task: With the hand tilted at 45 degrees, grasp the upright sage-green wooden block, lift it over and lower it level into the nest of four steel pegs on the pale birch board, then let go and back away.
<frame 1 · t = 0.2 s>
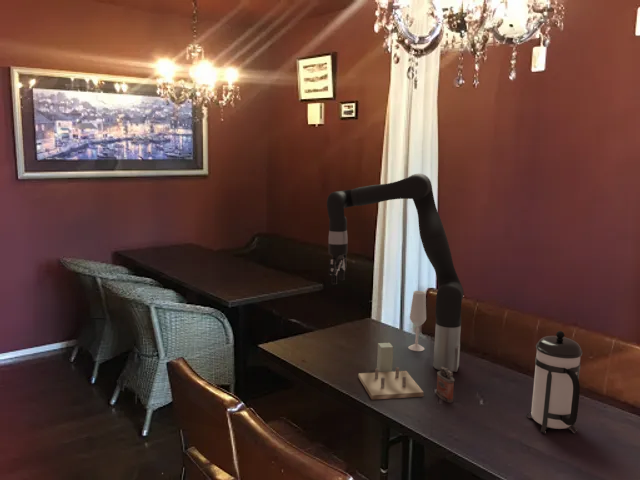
hand: (337, 282, 224), 29 cm above the table, tool pointing down, fingers open, 8 cm apart
coffee press: (554, 427, 171), on the table
peg board: (389, 386, 197), on the table
lighter: (444, 397, 190), on the table
sage block: (384, 370, 211), on the table
champagne flute: (416, 348, 234), on the table
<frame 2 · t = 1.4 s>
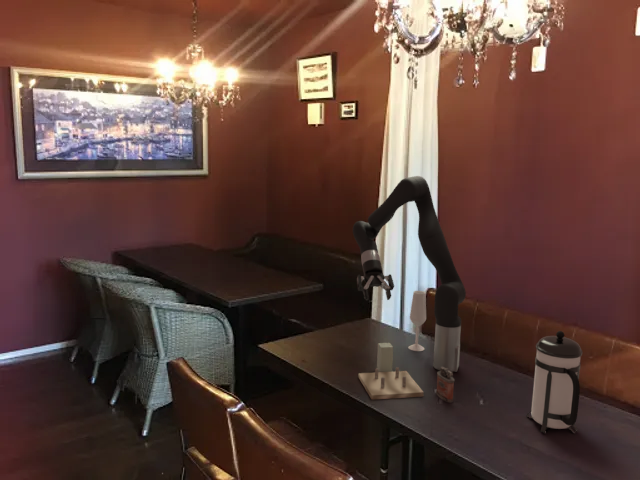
hand: (378, 299, 218), 24 cm above the table, tool tilted 45°, fingers open, 8 cm apart
nothing on the table moved.
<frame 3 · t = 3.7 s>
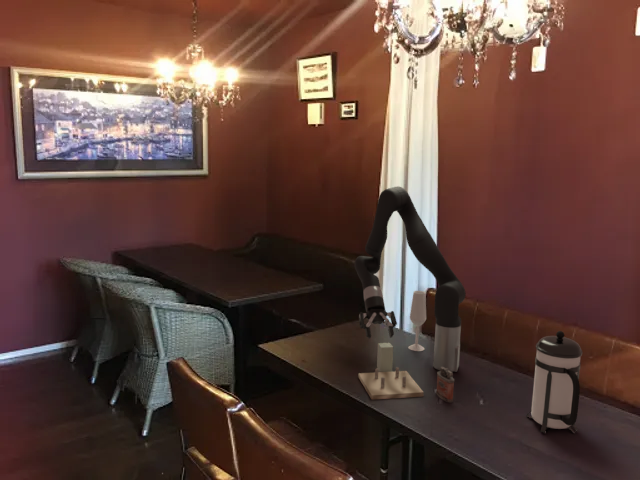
hand: (380, 337, 215), 11 cm above the table, tool tilted 45°, fingers open, 8 cm apart
nothing on the table moved.
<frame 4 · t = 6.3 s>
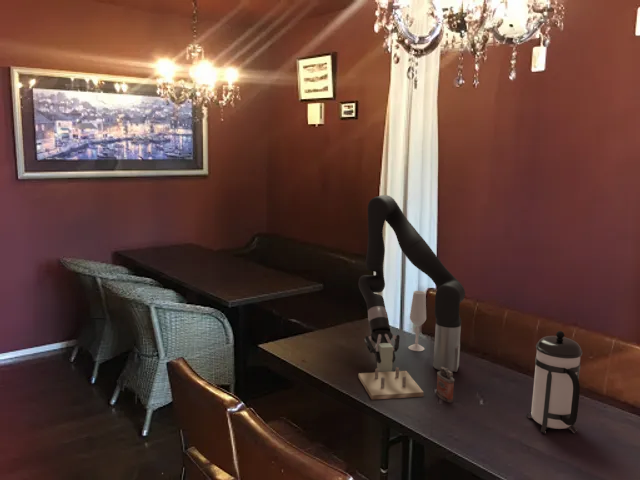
hand: (386, 361, 208), 4 cm above the table, tool tilted 45°, fingers closed on sage block, 4 cm apart
sage block: (384, 370, 211), on the table, touching gripper
everything else where it was.
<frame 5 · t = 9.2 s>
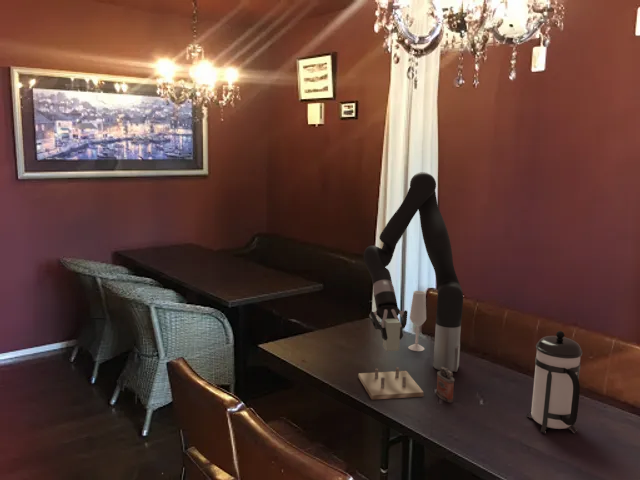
hand: (393, 338, 192), 18 cm above the table, tool tilted 45°, fingers closed on sage block, 4 cm apart
sage block: (390, 348, 195), point 14 cm above the table, touching gripper
everything else where it was.
when the fingers open (7 cm above the table, at t = 12.3 s): sage block drops 1 cm, resting on peg board.
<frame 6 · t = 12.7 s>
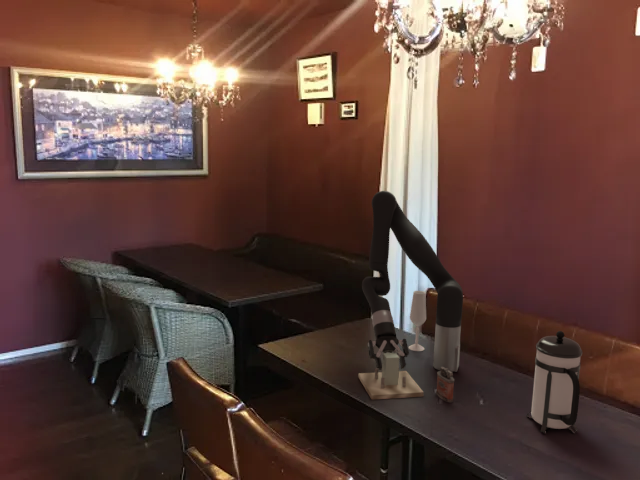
hand: (391, 368, 194), 7 cm above the table, tool tilted 45°, fingers open, 7 cm apart
sage block: (389, 382, 197), point 1 cm above the table, touching peg board
everything else where it was.
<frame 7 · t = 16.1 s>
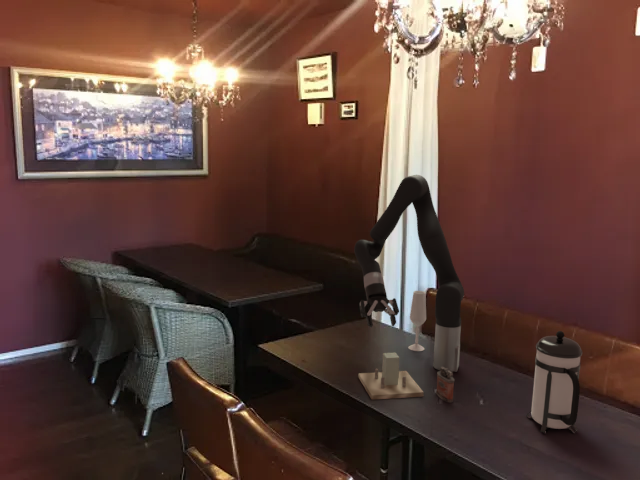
hand: (382, 325, 206), 18 cm above the table, tool tilted 40°, fingers open, 8 cm apart
nothing on the table moved.
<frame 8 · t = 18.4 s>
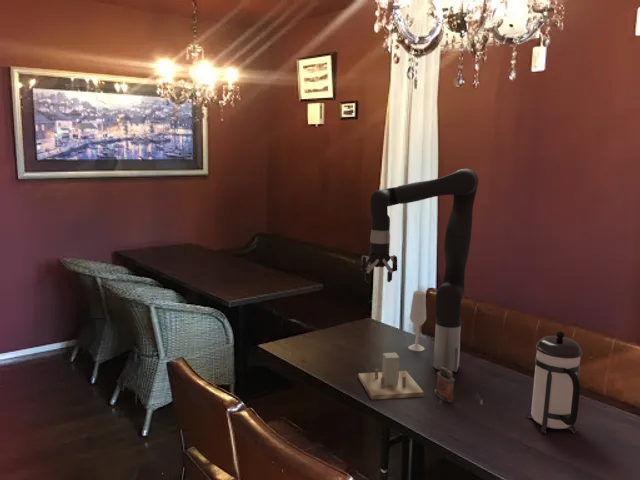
hand: (378, 281, 221), 30 cm above the table, tool pointing down, fingers open, 8 cm apart
nothing on the table moved.
at the end: sage block 0.1 cm off-centre on the peg board, point 1.5 cm above the peg board's base; sage block tilted 0°; the gripper is holding nothing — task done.
